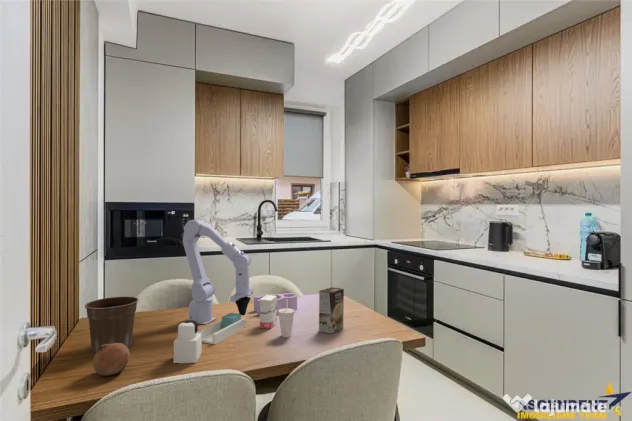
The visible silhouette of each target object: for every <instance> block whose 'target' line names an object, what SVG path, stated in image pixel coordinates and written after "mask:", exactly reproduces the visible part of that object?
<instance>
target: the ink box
mask: <svg viewBox="0 0 632 421" xmlns="http://www.w3.org/2000/svg"><path fill="white" fill-rule="evenodd" d="M264 295H265V294H264ZM277 322H278V315H277V296H273V295H265V296H264V297H263V298H261V299H260V315H259V329H264V330H265V329H267V330H269V329H270V330H271V329H272V328H273V327H274V326H275V325H277Z"/></svg>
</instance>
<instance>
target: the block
mask: <svg viewBox="0 0 632 421" xmlns="http://www.w3.org/2000/svg"><path fill="white" fill-rule="evenodd" d="M240 319H242V315H241V314H239V313H234V312H229V313H227V314H225V315H223V316H221V320H222V328H225V327H227V326H229V325H231V324H233V323H235V322H237V321H238V320H240Z"/></svg>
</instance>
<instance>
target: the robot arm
mask: <svg viewBox="0 0 632 421" xmlns="http://www.w3.org/2000/svg"><path fill="white" fill-rule="evenodd" d="M182 236H183V237H182V245H183V247H184V251H185V255H186V258H187V263H188V265H189V269H190V273H191V276H192V280H193V281H192V285H191V288H192V290H191V291H192V292H191V296H192V300H191V301H190V302H189V304H188V320H193V321H196V322H197V323H198V325H207V324H209V323H211V322H213V321H216V320H217V317H213V295H214V294H215V291H216V289H215V286H214V285H213V284H212V282H211V279H210V277H208V276H207V275H206V271H205V268H204V263H203V260H202V256H201V253H200V250H199V246H198V241H199V239H200V238H201V237H202V236H203V237H208V238H209V239H210V240H212V242H214V243H215V244H216V245H218V246H219V247H220V248H221V253H222V254H223V255H224V256H226V258H227V259H229V260H230V261H231V262H232V264H233V267H234V268H235V293H234V294H233V295H232V296H231V297H230V303H231V302H232V303H235V304H236V307H237V310H238V311H237V312H238V314H241V316H245V315H246V314H247V308H248V306H249V303H250V301H251V299H252V298H251V297H250V296H252V295H254V289H250V265H251V263H252V259H251V257H250V255H249V254H248V253H245V252H244V251H243V250H240V249H239V248H238V247H237V244H236V243H235V242H230V241H227V240H226V239H225V238H224V237H222V235H221V234H220V233H219V232H218V231H217V230H216V229H215V228H214V227H213V226H212V224H210V222H208V221H207V220H205V219H201V218H200V219H189V220H188V221H187V222H186V223H185V225H184V226H183V235H182Z"/></svg>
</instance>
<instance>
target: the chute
mask: <svg viewBox="0 0 632 421" xmlns="http://www.w3.org/2000/svg"><path fill="white" fill-rule="evenodd" d="M245 328H246V318H245V317H243V318H242V317H241V319H240V320H238V321H237V322H235V323H233V324H231V325H229V326H227V327H225V328H222V319H220V320H218V321H217V322H215V323H213V324H211V325H208V326H206V327H204V328H202V329H200V330H198V333H201V334H202V343H204V344H208V345H209V344H210V345H217V344H219V343H220V342H222V341H223V340H225V339H228V338H229V337H230V336H232V335H234V334H236V333H238V332H239V331H241V330H243V329H245Z"/></svg>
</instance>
